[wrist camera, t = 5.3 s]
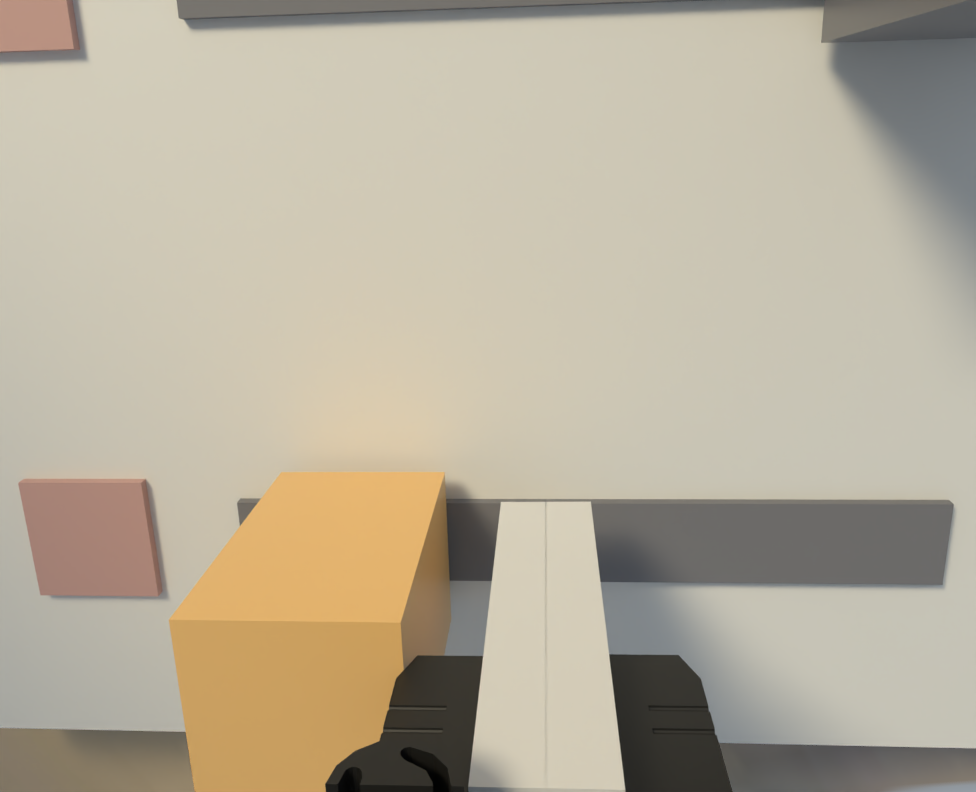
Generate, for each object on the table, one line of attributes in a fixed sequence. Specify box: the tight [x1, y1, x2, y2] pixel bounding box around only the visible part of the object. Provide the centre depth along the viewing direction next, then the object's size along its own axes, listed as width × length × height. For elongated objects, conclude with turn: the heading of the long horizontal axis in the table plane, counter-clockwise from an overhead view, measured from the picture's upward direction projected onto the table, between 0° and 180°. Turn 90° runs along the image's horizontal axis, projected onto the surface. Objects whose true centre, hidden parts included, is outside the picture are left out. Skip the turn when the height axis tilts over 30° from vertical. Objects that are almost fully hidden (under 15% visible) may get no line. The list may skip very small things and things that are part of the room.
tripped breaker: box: [169, 472, 451, 792], centre depth 14 cm, size 3×3×5 cm
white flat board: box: [0, 0, 976, 748], centre depth 16 cm, size 28×19×3 cm
